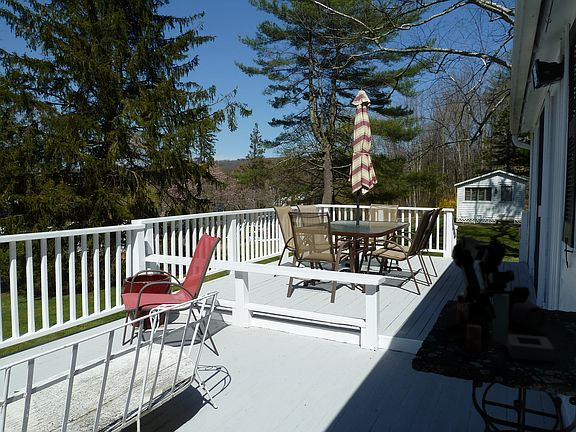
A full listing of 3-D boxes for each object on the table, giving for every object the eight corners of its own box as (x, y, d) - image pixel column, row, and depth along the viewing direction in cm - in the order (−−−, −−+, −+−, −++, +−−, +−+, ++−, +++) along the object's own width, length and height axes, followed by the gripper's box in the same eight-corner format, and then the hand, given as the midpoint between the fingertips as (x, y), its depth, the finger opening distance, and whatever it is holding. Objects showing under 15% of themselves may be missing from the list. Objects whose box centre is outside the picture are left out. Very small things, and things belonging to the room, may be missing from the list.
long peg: (493, 341, 136) (493, 295, 136) (491, 337, 140) (492, 292, 140) (509, 342, 135) (509, 296, 134) (507, 338, 139) (507, 293, 138)
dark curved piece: (548, 332, 165) (549, 305, 164) (523, 332, 165) (523, 305, 165) (518, 315, 188) (518, 291, 187) (495, 315, 188) (496, 292, 187)
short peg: (466, 351, 146) (467, 327, 145) (466, 347, 150) (466, 323, 149) (481, 353, 144) (481, 328, 144) (480, 348, 148) (480, 325, 148)
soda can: (460, 321, 180) (460, 291, 179) (479, 324, 175) (479, 294, 174) (454, 325, 174) (454, 295, 173) (473, 329, 169) (473, 297, 169)
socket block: (510, 357, 140) (510, 345, 140) (505, 345, 151) (506, 333, 151) (554, 362, 136) (554, 349, 136) (546, 349, 147) (546, 337, 147)
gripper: (465, 260, 141) (476, 303, 131) (528, 261, 139) (543, 305, 129) (459, 280, 150) (468, 322, 139) (517, 281, 148) (531, 324, 137)
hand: (502, 318), depth 136 cm, fingers closed on long peg, 4 cm apart
